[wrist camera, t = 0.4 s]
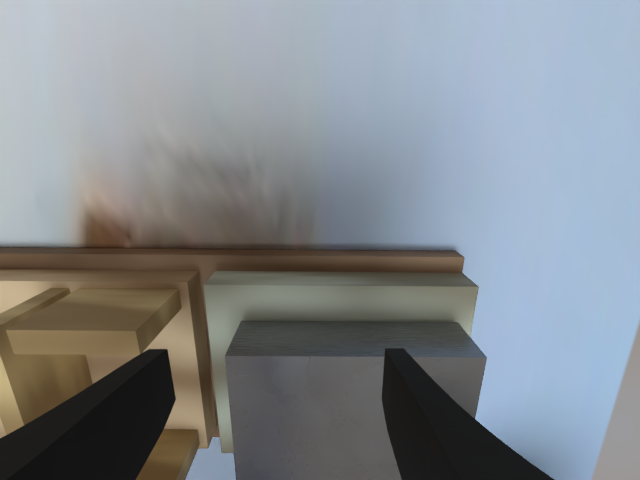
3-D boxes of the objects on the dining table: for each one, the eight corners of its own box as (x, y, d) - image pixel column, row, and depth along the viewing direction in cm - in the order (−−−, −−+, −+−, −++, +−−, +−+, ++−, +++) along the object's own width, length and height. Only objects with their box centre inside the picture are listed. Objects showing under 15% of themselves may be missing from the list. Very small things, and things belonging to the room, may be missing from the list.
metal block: (440, 434, 19) (462, 485, 16) (249, 433, 19) (236, 484, 16) (457, 322, 17) (486, 357, 14) (241, 320, 17) (224, 356, 14)
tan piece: (430, 423, 23) (476, 535, 16) (39, 421, 23) (-77, 532, 16) (455, 250, 19) (529, 303, 12) (-16, 247, 19) (-200, 298, 12)
